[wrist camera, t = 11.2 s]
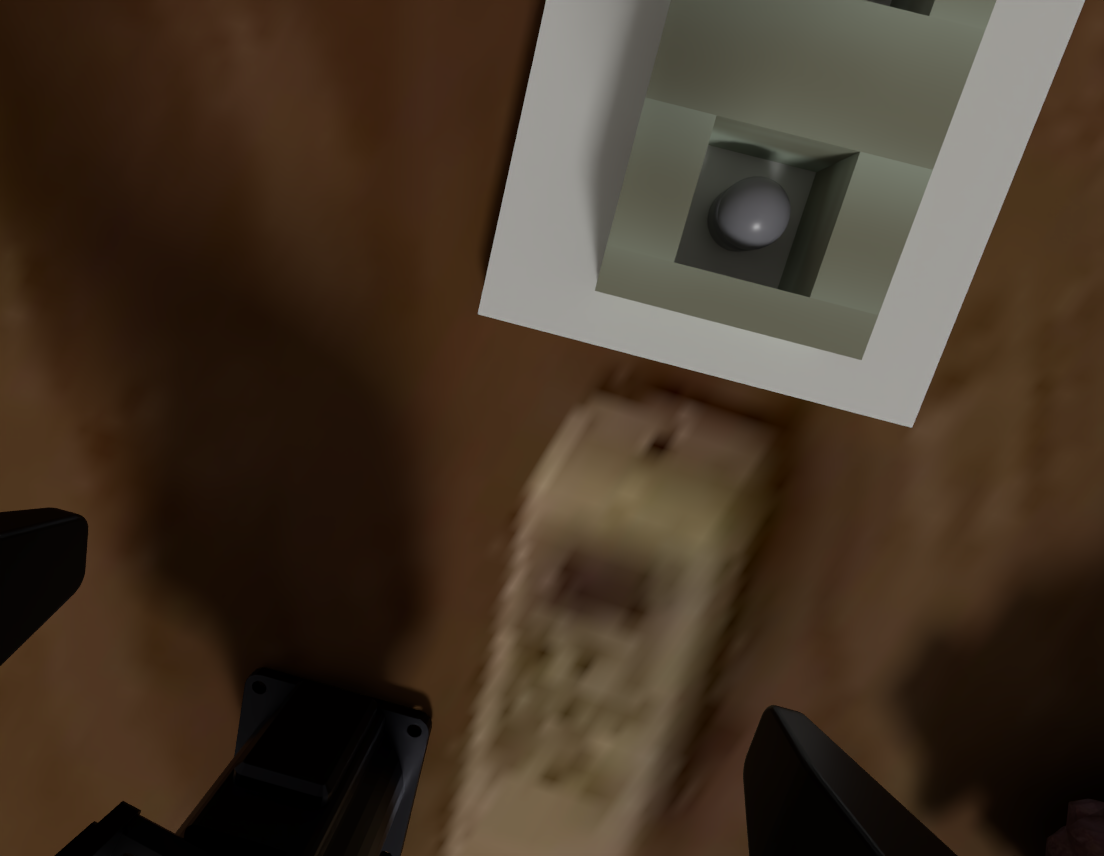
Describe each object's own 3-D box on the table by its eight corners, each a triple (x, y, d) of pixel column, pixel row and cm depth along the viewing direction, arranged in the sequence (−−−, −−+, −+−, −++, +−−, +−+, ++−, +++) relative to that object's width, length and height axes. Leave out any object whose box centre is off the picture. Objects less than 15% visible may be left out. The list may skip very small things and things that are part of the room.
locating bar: (741, -258, 14) (772, -392, 11) (1011, -194, 14) (1113, -313, 11) (597, 287, 17) (594, 290, 14) (819, 344, 17) (861, 360, 14)
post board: (889, 415, 19) (983, 466, 14) (487, 310, 19) (445, 325, 14) (1109, -147, 15) (1336, -336, 11) (614, -263, 16) (615, -498, 11)
